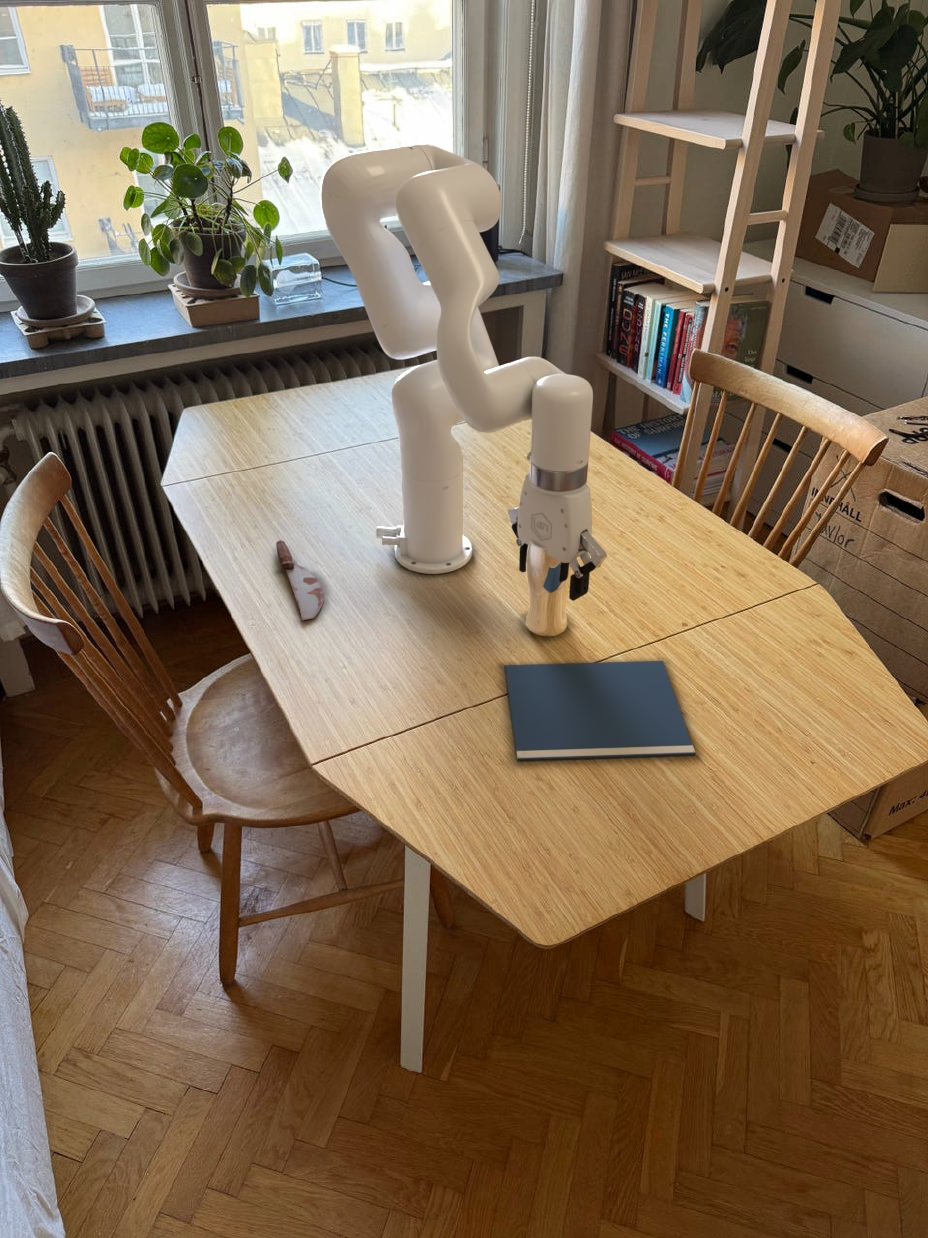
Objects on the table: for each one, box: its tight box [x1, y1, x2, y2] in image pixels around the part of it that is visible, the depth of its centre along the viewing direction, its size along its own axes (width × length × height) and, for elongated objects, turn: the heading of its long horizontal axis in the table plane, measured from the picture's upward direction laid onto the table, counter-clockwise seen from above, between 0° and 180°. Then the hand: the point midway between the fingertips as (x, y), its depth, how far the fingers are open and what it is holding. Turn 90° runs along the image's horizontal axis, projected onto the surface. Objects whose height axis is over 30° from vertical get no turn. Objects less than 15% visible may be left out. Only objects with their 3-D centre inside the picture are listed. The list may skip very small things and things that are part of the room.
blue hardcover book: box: [504, 660, 696, 762], centre depth 120 cm, size 22×18×1 cm
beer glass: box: [525, 539, 574, 637], centre depth 130 cm, size 7×7×15 cm
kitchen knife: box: [275, 539, 325, 621], centre depth 143 cm, size 21×2×5 cm
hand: (552, 582), depth 130 cm, fingers open, 9 cm apart
